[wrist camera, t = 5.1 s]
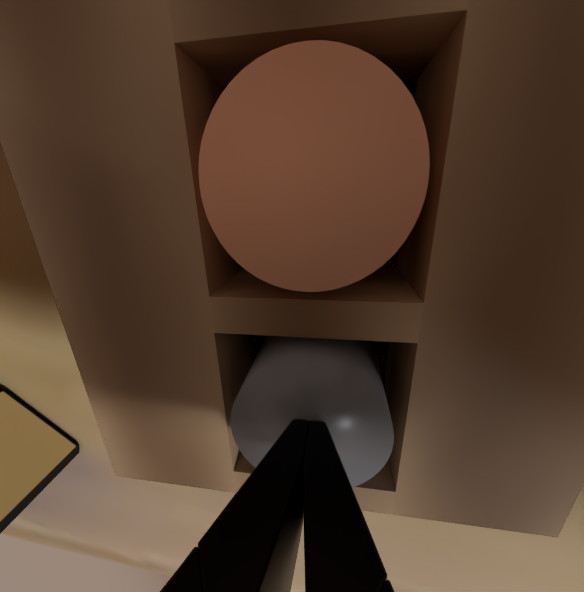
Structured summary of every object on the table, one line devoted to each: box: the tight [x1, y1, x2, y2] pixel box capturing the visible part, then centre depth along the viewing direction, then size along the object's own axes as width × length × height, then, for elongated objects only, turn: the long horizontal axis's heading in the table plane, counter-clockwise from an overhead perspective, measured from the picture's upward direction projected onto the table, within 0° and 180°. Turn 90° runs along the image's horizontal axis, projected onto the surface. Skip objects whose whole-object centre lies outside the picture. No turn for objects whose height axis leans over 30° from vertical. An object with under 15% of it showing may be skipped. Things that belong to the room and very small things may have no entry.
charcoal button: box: [230, 336, 394, 487], centre depth 9 cm, size 4×4×3 cm
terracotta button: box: [198, 40, 430, 292], centre depth 7 cm, size 4×4×3 cm
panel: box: [0, 0, 584, 537], centre depth 7 cm, size 14×19×3 cm
